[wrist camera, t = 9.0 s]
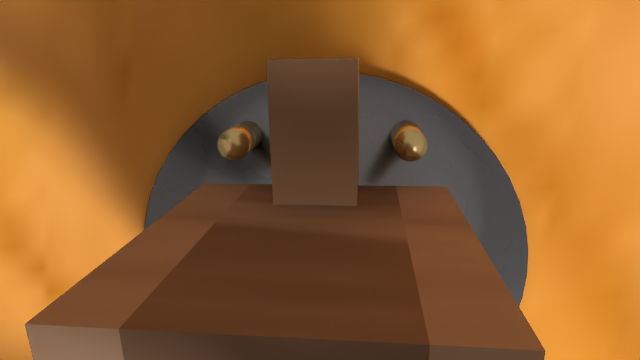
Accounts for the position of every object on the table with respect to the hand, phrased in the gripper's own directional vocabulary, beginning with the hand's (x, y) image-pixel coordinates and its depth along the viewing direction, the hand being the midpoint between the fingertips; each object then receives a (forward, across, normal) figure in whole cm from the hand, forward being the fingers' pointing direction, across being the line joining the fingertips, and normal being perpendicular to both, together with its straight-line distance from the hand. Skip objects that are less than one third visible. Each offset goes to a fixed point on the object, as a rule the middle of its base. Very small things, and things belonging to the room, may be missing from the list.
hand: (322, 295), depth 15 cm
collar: (0, 0, +2) cm, 2 cm away
